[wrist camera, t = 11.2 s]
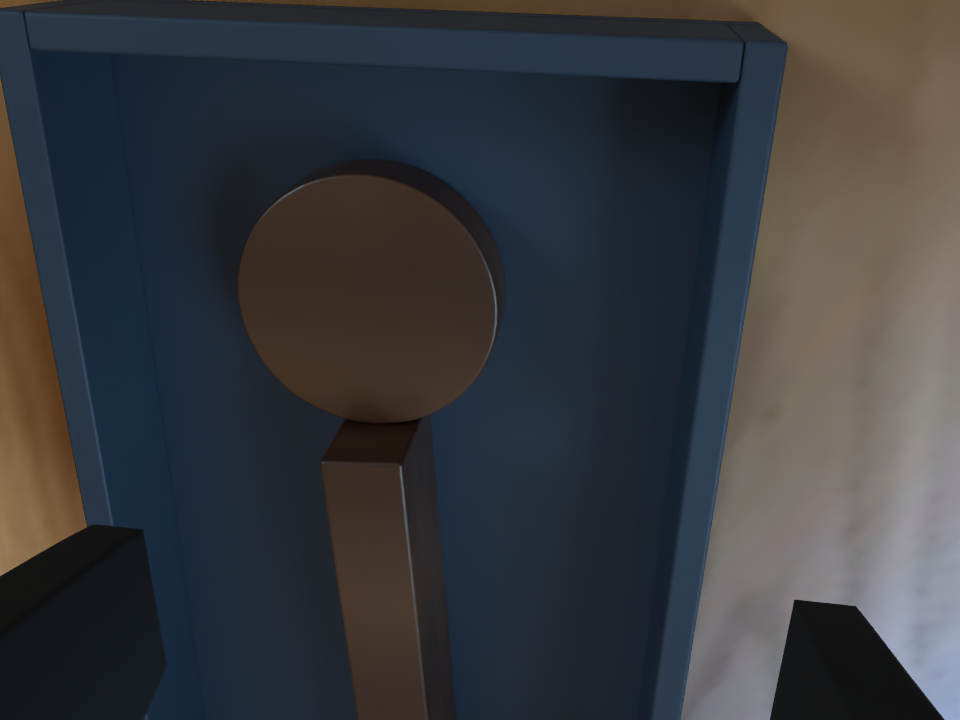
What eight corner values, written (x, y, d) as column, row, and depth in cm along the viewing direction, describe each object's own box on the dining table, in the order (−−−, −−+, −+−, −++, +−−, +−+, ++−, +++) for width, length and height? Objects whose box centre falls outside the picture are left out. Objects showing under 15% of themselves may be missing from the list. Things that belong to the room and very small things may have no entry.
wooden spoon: (529, 812, 24) (519, 908, 21) (342, 796, 25) (313, 886, 22) (500, 155, 17) (480, 191, 14) (239, 160, 17) (179, 196, 15)
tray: (760, 22, 16) (789, 41, 13) (635, 882, 25) (635, 1000, 22) (90, -4, 17) (-14, 9, 14) (210, 818, 27) (162, 920, 24)
